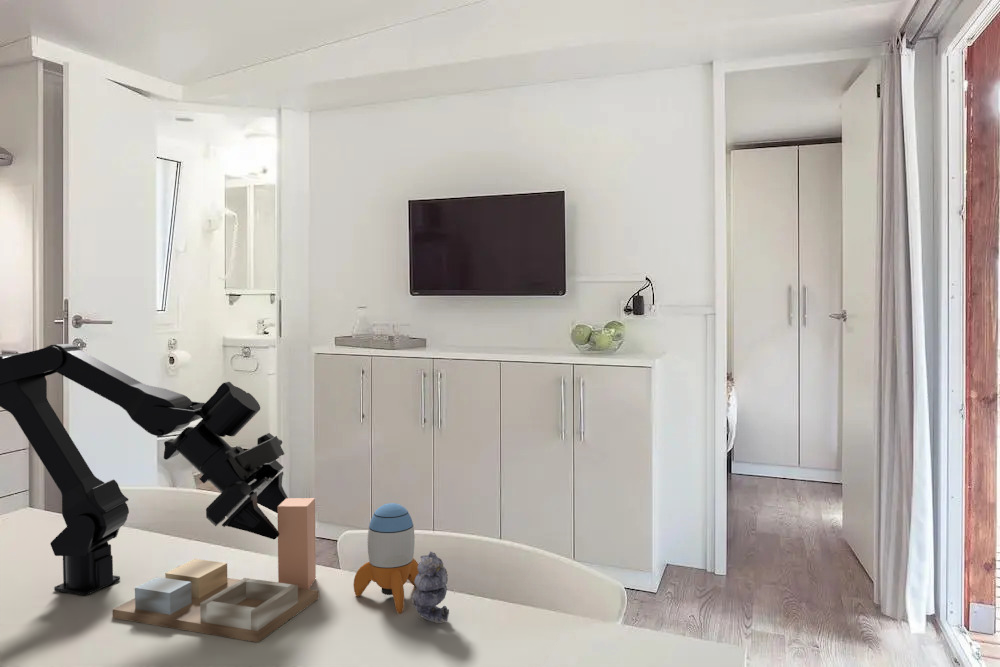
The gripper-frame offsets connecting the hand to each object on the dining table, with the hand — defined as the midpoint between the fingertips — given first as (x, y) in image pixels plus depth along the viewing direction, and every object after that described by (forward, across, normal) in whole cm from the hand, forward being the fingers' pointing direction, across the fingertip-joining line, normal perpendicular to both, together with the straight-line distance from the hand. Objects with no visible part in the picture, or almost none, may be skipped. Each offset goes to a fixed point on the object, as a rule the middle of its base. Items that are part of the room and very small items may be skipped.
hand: (286, 527), depth 105 cm
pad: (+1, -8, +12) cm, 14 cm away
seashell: (+23, -13, -10) cm, 29 cm away
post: (+8, 0, +5) cm, 9 cm away
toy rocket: (+18, -5, -4) cm, 19 cm away
